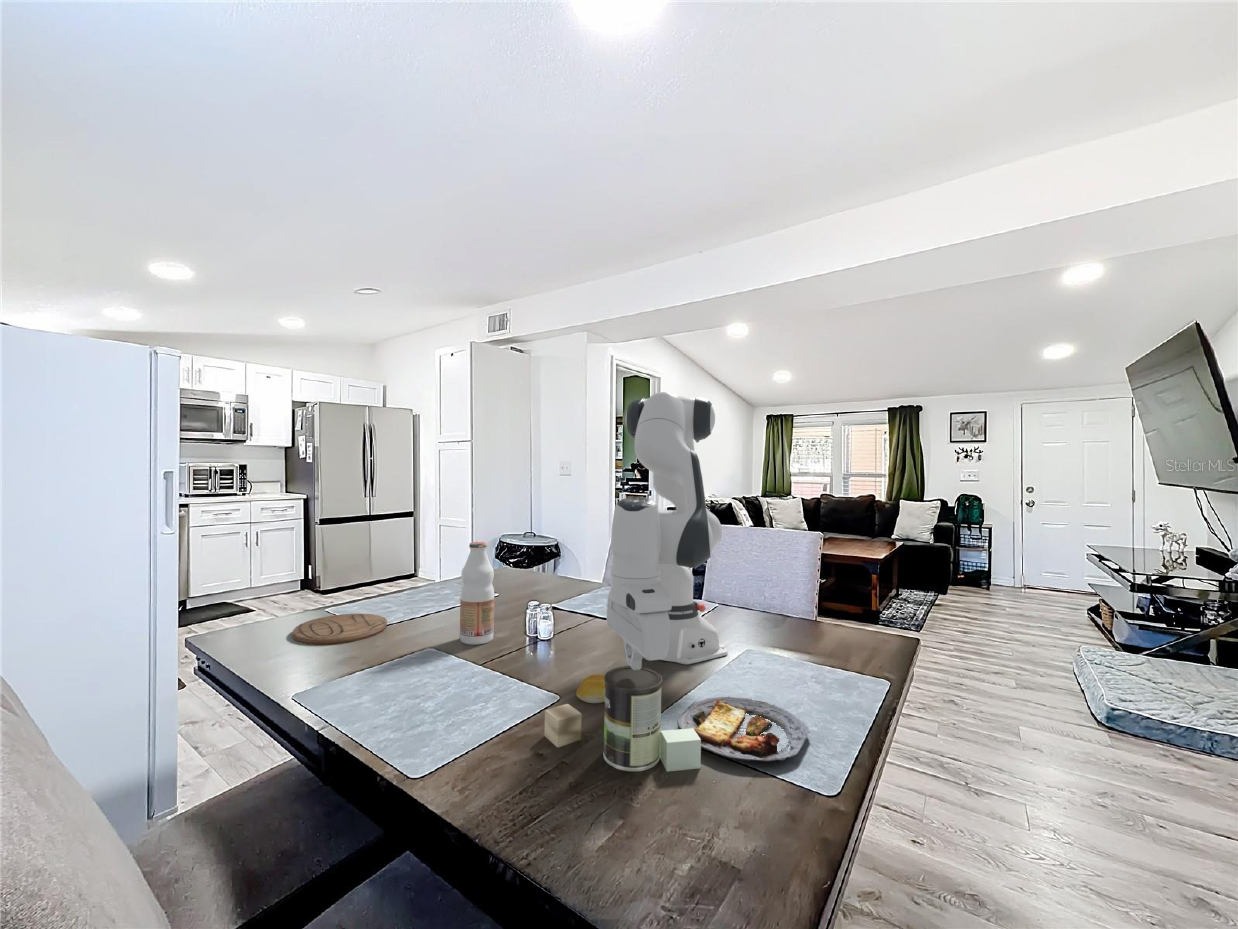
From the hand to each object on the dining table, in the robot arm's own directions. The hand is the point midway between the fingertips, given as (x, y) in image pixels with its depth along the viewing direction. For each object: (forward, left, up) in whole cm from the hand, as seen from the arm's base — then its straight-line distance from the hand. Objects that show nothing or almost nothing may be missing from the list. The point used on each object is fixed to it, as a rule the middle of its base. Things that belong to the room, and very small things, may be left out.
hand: (633, 667), depth 96 cm
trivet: (+56, -92, -16) cm, 109 cm away
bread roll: (-2, -25, -16) cm, 30 cm away
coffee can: (0, 0, -16) cm, 16 cm away
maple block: (+10, -10, -16) cm, 21 cm away
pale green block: (-7, +5, -16) cm, 18 cm away
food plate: (-23, 0, -16) cm, 28 cm away
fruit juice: (+19, -71, -16) cm, 75 cm away
